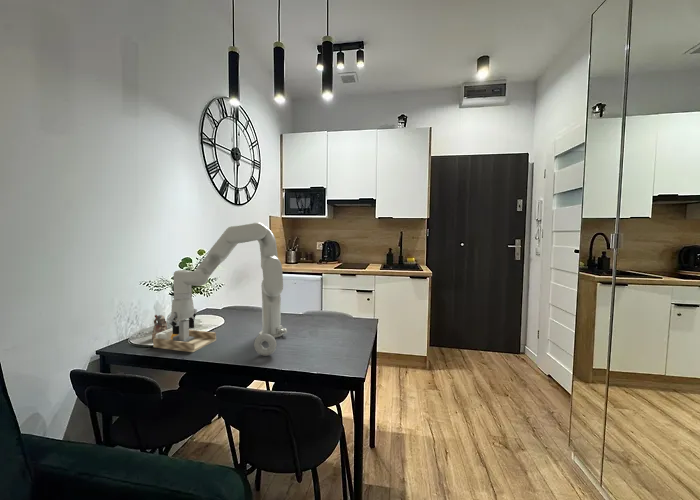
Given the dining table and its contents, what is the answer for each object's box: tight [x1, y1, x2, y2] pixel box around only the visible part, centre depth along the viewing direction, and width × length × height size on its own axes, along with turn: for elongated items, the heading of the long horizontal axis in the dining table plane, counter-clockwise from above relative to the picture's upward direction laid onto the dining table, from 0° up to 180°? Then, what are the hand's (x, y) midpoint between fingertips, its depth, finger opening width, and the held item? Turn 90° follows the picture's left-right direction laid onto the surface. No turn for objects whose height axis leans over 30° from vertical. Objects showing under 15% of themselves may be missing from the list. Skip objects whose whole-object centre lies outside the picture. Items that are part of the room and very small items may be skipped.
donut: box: [253, 334, 277, 357], centre depth 143 cm, size 10×4×10 cm, turn 87°
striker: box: [173, 319, 194, 342], centre depth 156 cm, size 5×8×10 cm, turn 165°
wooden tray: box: [152, 329, 217, 353], centre depth 156 cm, size 22×16×4 cm
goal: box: [156, 327, 173, 340], centre depth 158 cm, size 6×14×6 cm, turn 165°
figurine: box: [151, 314, 168, 340], centre depth 163 cm, size 7×7×12 cm
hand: (183, 330), depth 156 cm, fingers open, 9 cm apart
